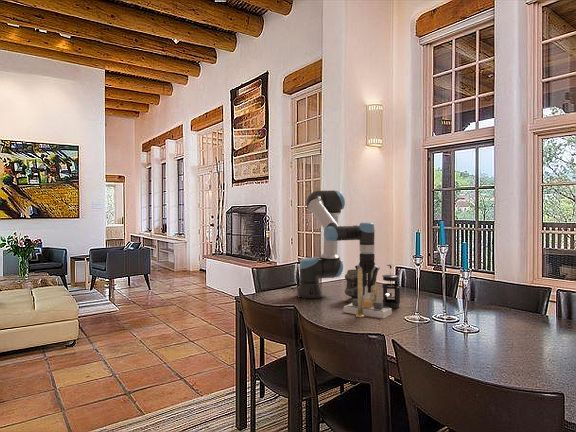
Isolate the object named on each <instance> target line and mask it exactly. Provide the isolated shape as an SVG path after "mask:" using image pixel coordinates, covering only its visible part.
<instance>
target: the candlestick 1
mask: <svg viewBox="0 0 576 432" xmlns="http://www.w3.org/2000/svg"><path fill="white" fill-rule="evenodd" d="M363 296H364V295H363V279H362V268H358V314H355V317H356V318H359V319H360V318H361V319H363V318H365V317H366V316H365V314H363V300H364V299H363Z"/></svg>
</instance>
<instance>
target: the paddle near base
mask: <svg viewBox="0 0 576 432" xmlns="http://www.w3.org/2000/svg"><path fill="white" fill-rule="evenodd" d="M352 305H355V306H358V299H352Z"/></svg>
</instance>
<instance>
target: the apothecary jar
mask: <svg viewBox="0 0 576 432" xmlns="http://www.w3.org/2000/svg"><path fill="white" fill-rule="evenodd" d="M362 276H363V273H362ZM344 279H345V280H346V287H345V289H344V290H343V291H344V294H345V295H346V296H349V298H348V299H346V302H347V303H350V304H351V303H352V299H358V274H357V270H356V268H355V269H354V268H353V269H347V271H346V274H344ZM363 296H365V292H363ZM364 300H365V299H363V301H364Z"/></svg>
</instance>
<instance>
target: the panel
mask: <svg viewBox="0 0 576 432" xmlns="http://www.w3.org/2000/svg"><path fill="white" fill-rule="evenodd" d="M392 311H393V309H392V308H389V307H383V309H375V308H374V305H372V307H371V308H368V307H363V314H365V317H372V318H378V319H386V318H387V317H389V316H391V315H392V314H393V312H392ZM343 313H348V314H353V315H356V314H358V306H355V305H352V303H351V302H350V303H349V304H346V305H344V306H343Z"/></svg>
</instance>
